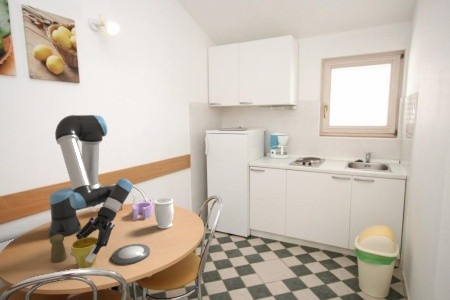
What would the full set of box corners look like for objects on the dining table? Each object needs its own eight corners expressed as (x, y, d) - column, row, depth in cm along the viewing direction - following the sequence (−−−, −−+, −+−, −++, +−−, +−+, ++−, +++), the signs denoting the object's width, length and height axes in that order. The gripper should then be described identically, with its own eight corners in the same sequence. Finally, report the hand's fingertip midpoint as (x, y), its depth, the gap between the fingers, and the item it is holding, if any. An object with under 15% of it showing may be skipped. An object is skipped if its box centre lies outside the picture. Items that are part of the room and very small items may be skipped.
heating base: (104, 259, 114) (103, 256, 114) (132, 243, 128) (132, 240, 128) (130, 268, 107) (129, 265, 106) (157, 250, 121) (157, 247, 121)
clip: (139, 209, 179) (139, 199, 179) (157, 208, 179) (157, 199, 179) (129, 220, 159) (128, 209, 159) (149, 219, 159) (149, 208, 159)
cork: (69, 255, 118) (67, 232, 116) (61, 262, 112) (59, 238, 110) (56, 256, 117) (53, 232, 116) (47, 263, 111) (45, 238, 110)
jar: (166, 221, 157) (165, 196, 155) (178, 225, 150) (177, 199, 148) (151, 226, 148) (150, 201, 147) (163, 231, 142) (161, 204, 140)
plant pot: (88, 272, 104) (87, 249, 103) (66, 269, 106) (64, 247, 105) (105, 259, 114) (104, 237, 113) (85, 256, 116) (83, 236, 115)
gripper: (132, 217, 116) (104, 268, 104) (98, 210, 127) (69, 255, 115) (121, 209, 111) (91, 262, 99) (87, 202, 122) (56, 249, 110)
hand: (79, 258), depth 107 cm, fingers closed on plant pot, 10 cm apart
